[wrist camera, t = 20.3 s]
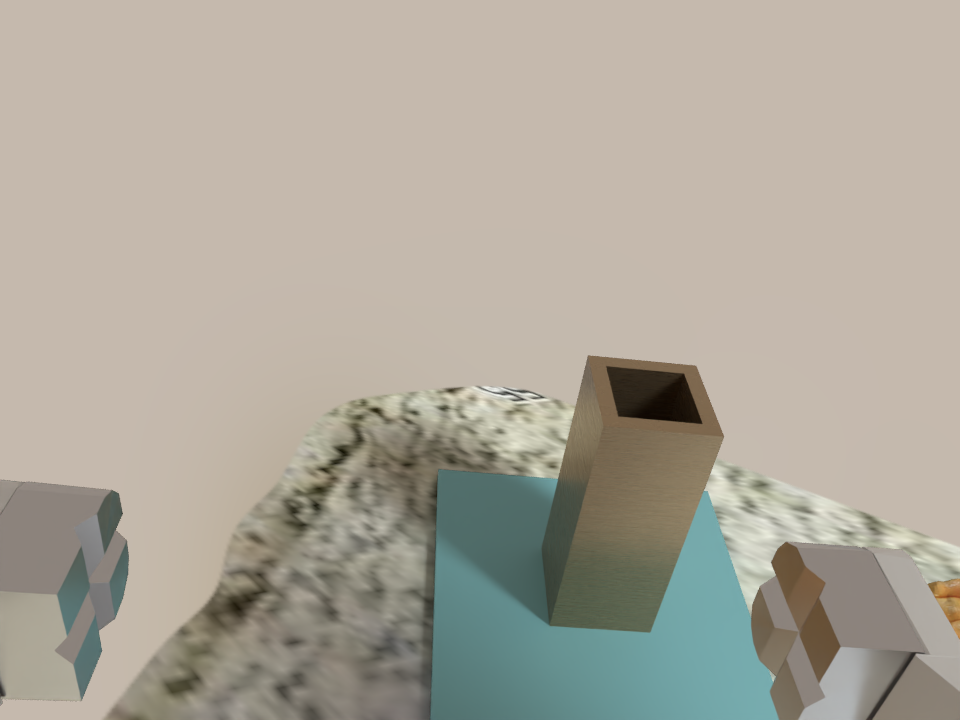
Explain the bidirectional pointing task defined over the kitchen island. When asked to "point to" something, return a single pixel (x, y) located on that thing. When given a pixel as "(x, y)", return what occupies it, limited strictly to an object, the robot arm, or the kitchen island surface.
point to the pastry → (948, 600)
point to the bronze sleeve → (626, 492)
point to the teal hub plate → (578, 651)
